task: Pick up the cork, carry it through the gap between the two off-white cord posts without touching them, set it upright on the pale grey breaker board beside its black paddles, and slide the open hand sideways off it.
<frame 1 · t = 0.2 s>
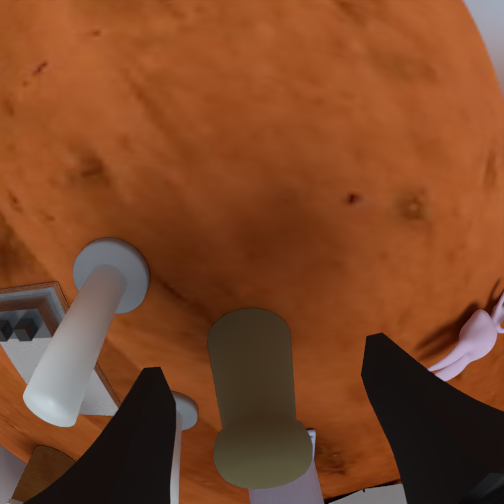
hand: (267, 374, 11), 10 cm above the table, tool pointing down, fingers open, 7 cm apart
electrical switch box: (353, 501, 45), on the table
cord post 2: (169, 407, 26), on the table
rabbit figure: (474, 315, 25), on the table
disposable coffee cup: (56, 456, 31), on the table
cork: (249, 339, 23), on the table
breaker board: (50, 357, 22), on the table
cord post 1: (112, 273, 20), on the table
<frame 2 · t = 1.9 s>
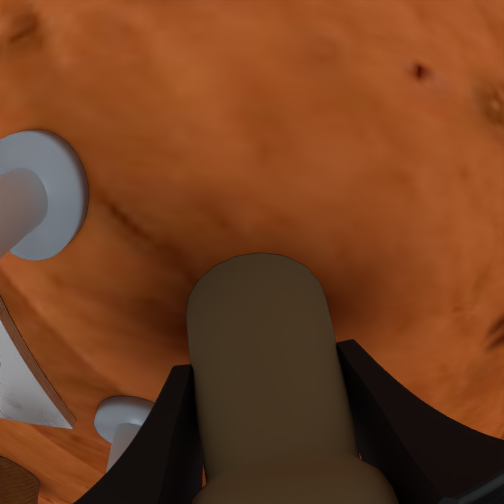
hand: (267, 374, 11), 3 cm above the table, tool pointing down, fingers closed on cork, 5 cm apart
cord post 2: (137, 421, 17), on the table
disposable coffee cup: (16, 469, 22), on the table
cork: (256, 314, 14), on the table, touching gripper
cord post 1: (35, 192, 10), on the table
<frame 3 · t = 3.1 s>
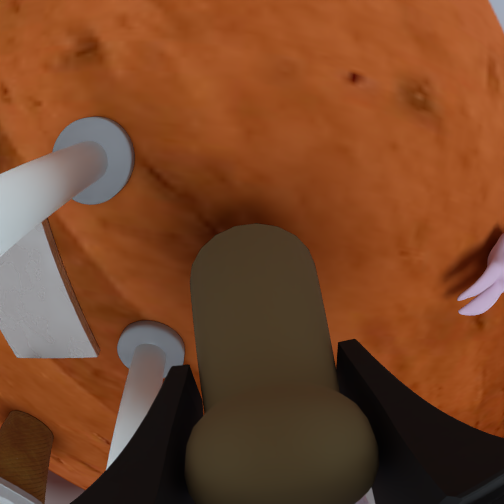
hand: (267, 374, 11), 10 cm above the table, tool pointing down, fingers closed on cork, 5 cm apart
cord post 2: (152, 346, 23), on the table
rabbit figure: (500, 244, 22), on the table
disposable coffee cup: (31, 425, 28), on the table
cork: (253, 280, 16), point 5 cm above the table, touching gripper
breaker board: (21, 280, 19), on the table
cord post 1: (94, 158, 17), on the table
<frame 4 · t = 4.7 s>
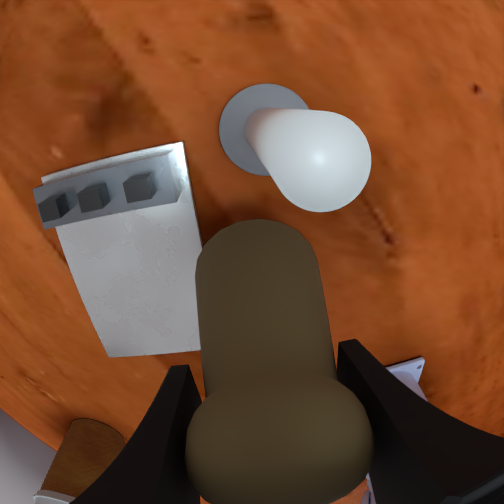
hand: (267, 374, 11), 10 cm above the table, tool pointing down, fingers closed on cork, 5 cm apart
disposable coffee cup: (97, 433, 28), on the table
cork: (256, 274, 16), point 4 cm above the table, touching gripper
breaker board: (136, 264, 20), on the table
cord post 1: (265, 128, 17), on the table
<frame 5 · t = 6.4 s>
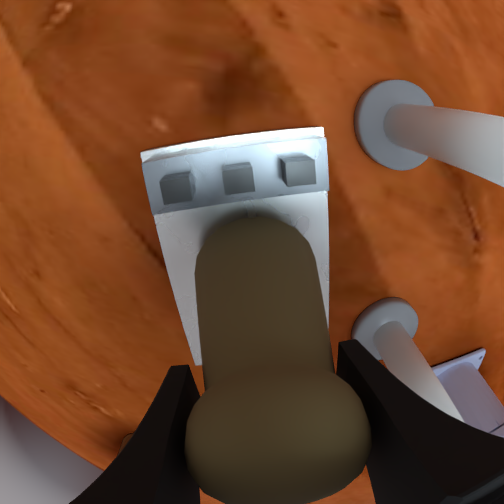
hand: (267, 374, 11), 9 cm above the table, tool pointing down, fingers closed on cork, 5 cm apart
cord post 2: (382, 326, 22), on the table
cork: (255, 271, 16), point 2 cm above the table, touching gripper
breaker board: (248, 259, 19), on the table
cord post 1: (394, 123, 16), on the table
when the fingers open (6 cm above the table, at t = 7.5 s): cork stays where it is, resting on breaker board.
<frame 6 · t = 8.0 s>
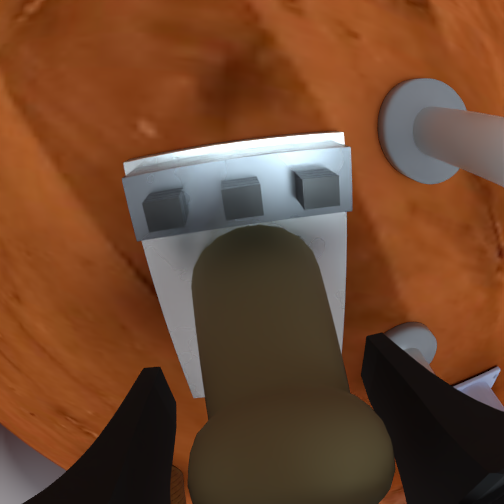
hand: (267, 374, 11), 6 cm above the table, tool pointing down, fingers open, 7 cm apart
cord post 2: (398, 351, 19), on the table
disposable coffee cup: (150, 469, 24), on the table
cork: (256, 283, 15), point 1 cm above the table, touching breaker board
breaker board: (252, 286, 16), on the table
cord post 1: (422, 129, 13), on the table
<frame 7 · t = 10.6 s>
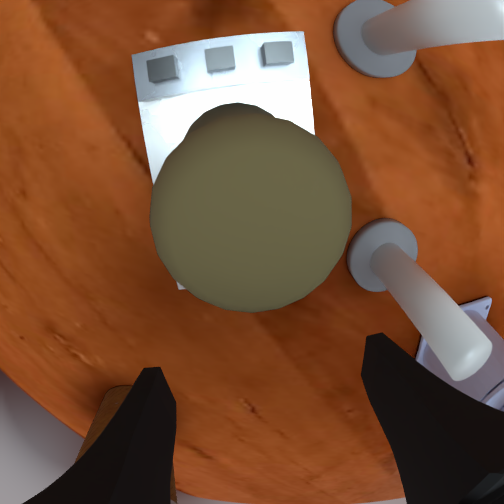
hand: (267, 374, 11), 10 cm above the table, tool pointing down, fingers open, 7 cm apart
cord post 2: (380, 252, 21), on the table
disposable coffee cup: (137, 405, 26), on the table
cork: (236, 157, 17), point 1 cm above the table, touching breaker board
breaker board: (233, 164, 18), on the table
cord post 1: (372, 38, 15), on the table
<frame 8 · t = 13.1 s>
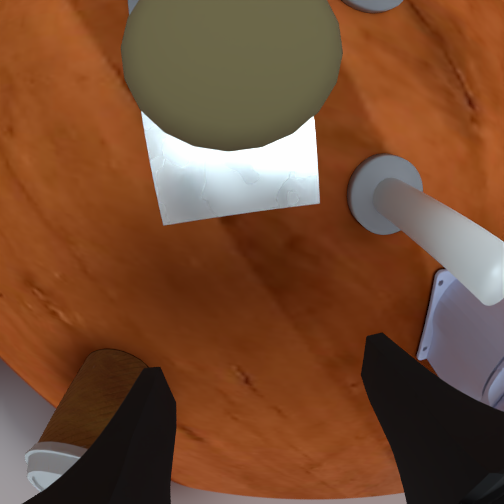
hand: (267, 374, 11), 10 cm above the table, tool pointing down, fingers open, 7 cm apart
cord post 2: (382, 192, 19), on the table
disposable coffee cup: (119, 374, 24), on the table
cork: (227, 79, 15), point 1 cm above the table, touching breaker board
breaker board: (224, 88, 16), on the table
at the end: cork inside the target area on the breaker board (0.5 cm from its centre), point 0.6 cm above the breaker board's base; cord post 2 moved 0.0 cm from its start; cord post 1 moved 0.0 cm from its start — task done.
